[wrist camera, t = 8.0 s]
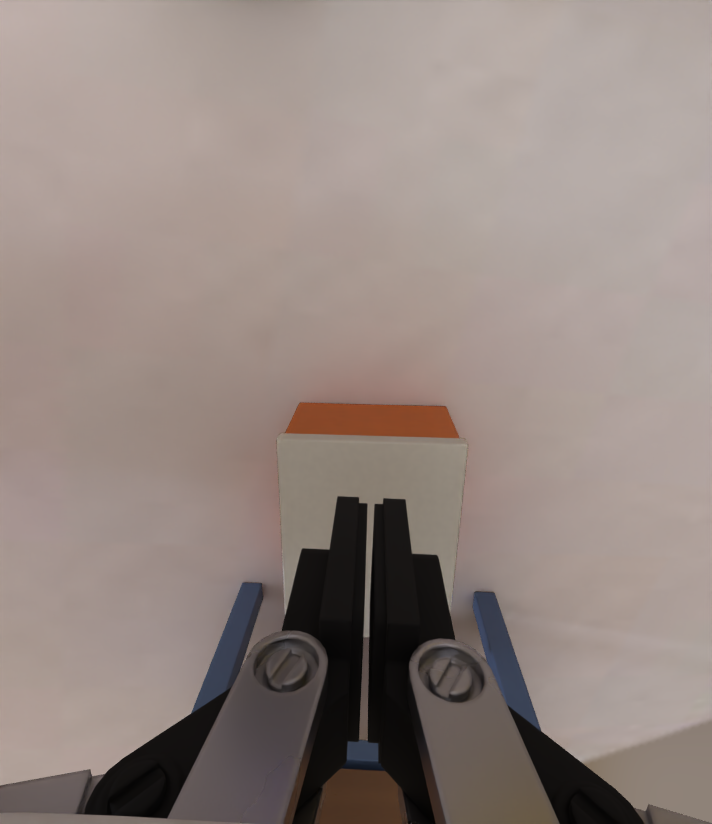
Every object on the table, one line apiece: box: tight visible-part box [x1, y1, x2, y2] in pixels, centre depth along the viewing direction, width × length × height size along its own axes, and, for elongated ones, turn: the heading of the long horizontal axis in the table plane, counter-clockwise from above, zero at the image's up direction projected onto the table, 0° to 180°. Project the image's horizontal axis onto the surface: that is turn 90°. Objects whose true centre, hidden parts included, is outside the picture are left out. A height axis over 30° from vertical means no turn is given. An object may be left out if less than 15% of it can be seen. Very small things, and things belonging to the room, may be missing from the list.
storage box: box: [276, 403, 468, 638], centre depth 23 cm, size 10×8×5 cm
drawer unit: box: [192, 583, 541, 771], centre depth 22 cm, size 12×15×17 cm
